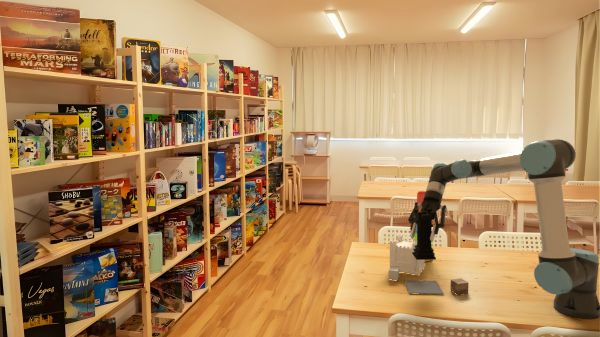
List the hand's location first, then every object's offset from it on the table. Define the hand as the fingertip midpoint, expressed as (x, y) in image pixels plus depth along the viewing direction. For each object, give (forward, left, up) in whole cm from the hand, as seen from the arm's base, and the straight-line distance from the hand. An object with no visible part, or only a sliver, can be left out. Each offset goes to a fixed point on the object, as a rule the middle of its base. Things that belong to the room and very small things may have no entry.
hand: (421, 238), depth 184 cm
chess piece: (+3, -2, -9) cm, 9 cm away
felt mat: (+3, -2, -22) cm, 23 cm away
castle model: (+26, +1, -23) cm, 34 cm away
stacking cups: (+41, -9, -23) cm, 47 cm away
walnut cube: (-1, -16, -23) cm, 27 cm away
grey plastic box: (+13, +9, -23) cm, 28 cm away
